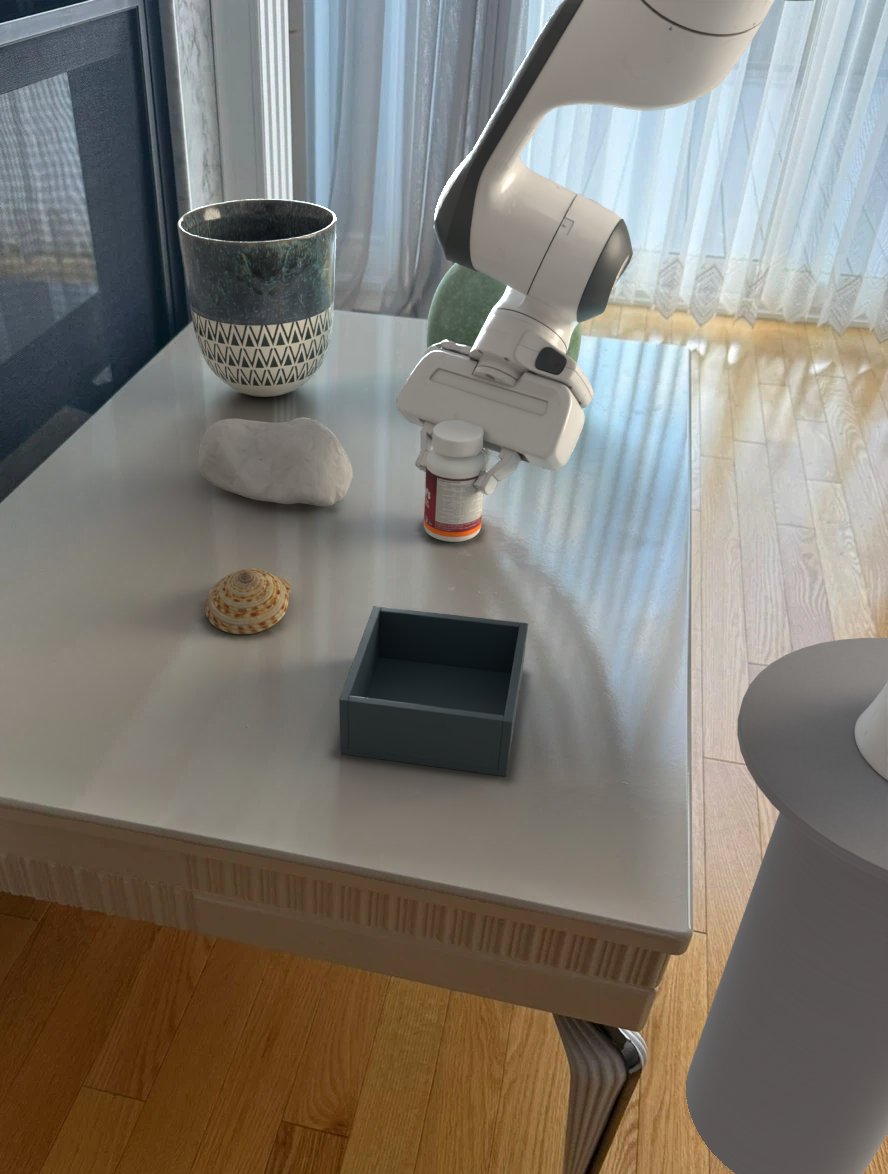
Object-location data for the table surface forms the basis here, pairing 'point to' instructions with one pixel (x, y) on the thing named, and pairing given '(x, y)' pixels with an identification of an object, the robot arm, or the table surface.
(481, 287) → the sculpture
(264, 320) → the planter
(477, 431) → the pill bottle
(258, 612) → the seashell
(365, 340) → the table surface
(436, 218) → the robot arm
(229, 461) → the decorative stone
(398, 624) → the bin
